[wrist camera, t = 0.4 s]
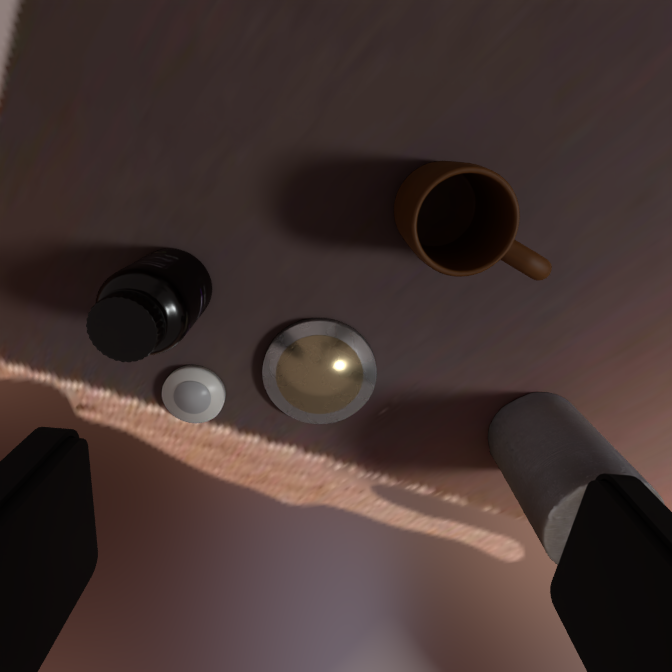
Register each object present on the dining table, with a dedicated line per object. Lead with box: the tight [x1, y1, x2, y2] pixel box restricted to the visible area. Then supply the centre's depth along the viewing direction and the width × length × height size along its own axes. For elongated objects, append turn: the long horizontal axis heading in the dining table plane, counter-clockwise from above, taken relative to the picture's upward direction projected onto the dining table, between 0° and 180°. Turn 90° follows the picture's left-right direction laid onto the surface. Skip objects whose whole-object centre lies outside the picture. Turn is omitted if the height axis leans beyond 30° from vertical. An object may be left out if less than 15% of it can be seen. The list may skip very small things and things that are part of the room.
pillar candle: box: [488, 392, 665, 565], centre depth 42 cm, size 10×10×15 cm
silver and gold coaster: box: [262, 318, 377, 424], centre depth 45 cm, size 11×11×1 cm
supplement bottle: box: [86, 249, 212, 362], centre depth 37 cm, size 7×7×12 cm
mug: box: [394, 161, 552, 280], centre depth 36 cm, size 12×8×9 cm, turn 61°
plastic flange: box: [162, 365, 226, 423], centre depth 46 cm, size 6×6×1 cm
